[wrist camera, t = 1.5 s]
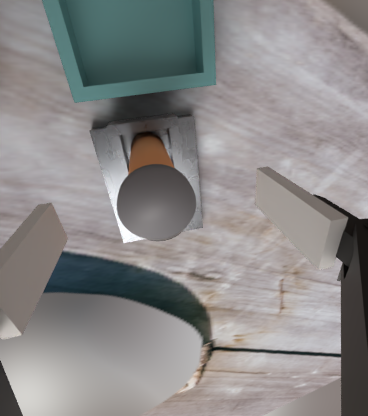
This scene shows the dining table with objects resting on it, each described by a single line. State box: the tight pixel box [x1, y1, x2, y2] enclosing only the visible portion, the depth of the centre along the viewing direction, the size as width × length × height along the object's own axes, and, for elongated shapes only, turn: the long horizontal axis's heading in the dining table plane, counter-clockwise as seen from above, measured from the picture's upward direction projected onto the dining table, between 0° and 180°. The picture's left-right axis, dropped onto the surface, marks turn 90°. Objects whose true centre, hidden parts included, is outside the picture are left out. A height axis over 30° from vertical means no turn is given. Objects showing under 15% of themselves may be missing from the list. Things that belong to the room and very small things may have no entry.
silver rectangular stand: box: [90, 113, 203, 243], centre depth 28 cm, size 12×17×5 cm
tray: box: [42, 0, 216, 103], centre depth 20 cm, size 14×14×4 cm
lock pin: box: [117, 132, 196, 240], centre depth 21 cm, size 5×5×15 cm
